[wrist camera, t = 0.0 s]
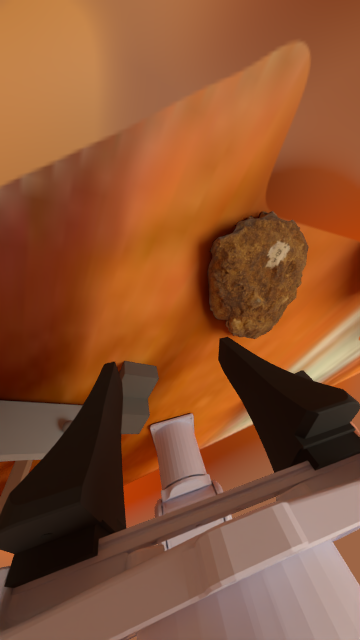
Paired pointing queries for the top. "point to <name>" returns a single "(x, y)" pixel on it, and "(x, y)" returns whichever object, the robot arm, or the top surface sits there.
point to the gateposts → (15, 478)
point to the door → (32, 428)
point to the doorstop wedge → (136, 395)
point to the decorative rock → (256, 273)
